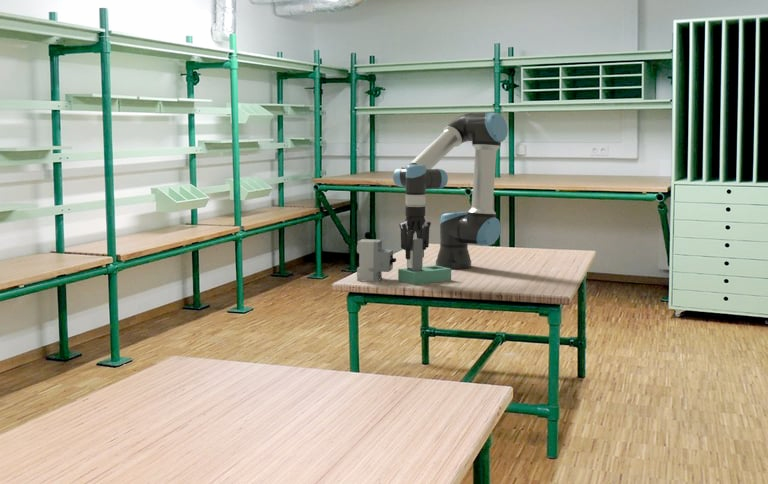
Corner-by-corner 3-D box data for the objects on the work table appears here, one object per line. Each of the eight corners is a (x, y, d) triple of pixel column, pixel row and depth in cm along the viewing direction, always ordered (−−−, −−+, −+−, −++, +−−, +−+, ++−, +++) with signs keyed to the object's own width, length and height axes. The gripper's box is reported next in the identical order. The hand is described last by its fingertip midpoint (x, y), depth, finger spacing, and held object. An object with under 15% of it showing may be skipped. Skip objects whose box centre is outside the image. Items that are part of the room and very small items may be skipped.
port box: (434, 276, 340) (434, 265, 339) (451, 280, 331) (451, 268, 331) (397, 280, 329) (397, 269, 329) (414, 284, 321) (414, 272, 320)
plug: (415, 276, 330) (416, 237, 328) (421, 278, 326) (422, 238, 325) (407, 277, 327) (407, 238, 325) (413, 279, 324) (414, 239, 322)
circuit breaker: (393, 281, 327) (393, 242, 325) (356, 280, 329) (357, 241, 328) (397, 278, 334) (397, 240, 332) (361, 277, 337) (361, 239, 335)
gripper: (427, 204, 331) (426, 263, 334) (391, 205, 322) (390, 267, 325) (439, 205, 325) (438, 266, 328) (403, 207, 316) (402, 270, 319)
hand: (414, 266), depth 326 cm, fingers closed on plug, 4 cm apart
